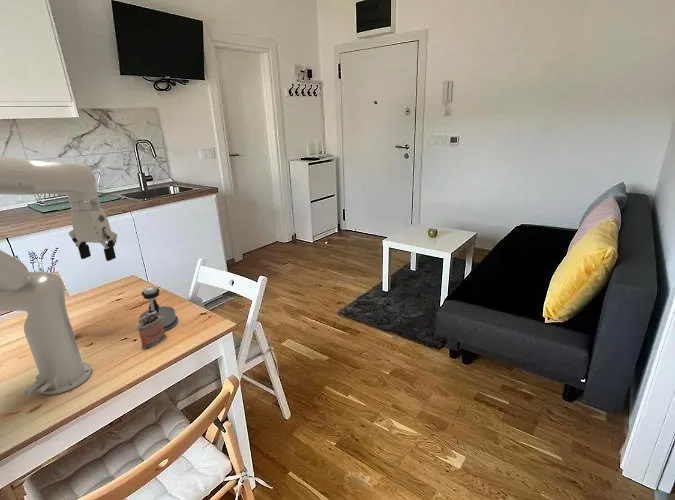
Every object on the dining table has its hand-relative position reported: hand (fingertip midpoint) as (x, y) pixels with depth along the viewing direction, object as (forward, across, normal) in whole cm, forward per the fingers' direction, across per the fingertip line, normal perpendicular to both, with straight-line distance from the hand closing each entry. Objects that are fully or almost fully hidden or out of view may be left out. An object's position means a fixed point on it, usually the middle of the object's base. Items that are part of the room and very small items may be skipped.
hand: (98, 258), depth 121 cm
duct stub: (+25, -13, -5) cm, 29 cm away
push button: (+21, -13, -5) cm, 25 cm away
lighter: (+26, -19, +4) cm, 32 cm away
